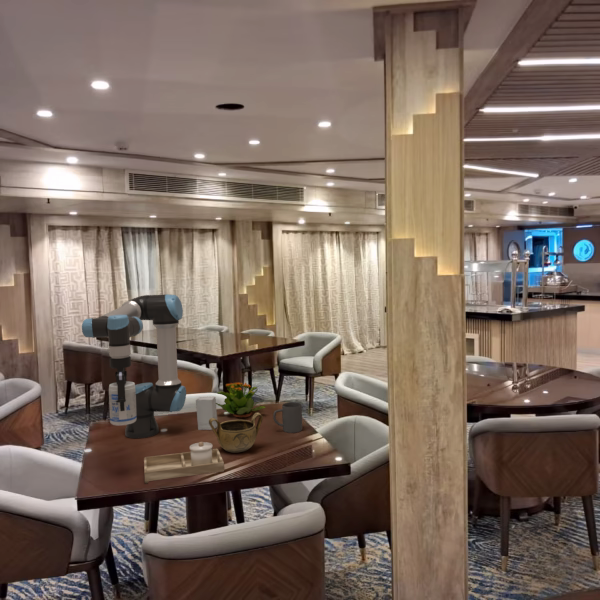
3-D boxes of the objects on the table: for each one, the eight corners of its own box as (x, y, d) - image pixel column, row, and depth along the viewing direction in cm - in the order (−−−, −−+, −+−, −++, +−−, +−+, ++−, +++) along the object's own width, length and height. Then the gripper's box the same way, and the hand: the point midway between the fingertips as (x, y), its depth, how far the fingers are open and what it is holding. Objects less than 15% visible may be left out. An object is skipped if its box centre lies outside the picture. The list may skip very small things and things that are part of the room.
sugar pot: (189, 463, 214) (188, 439, 213) (211, 460, 216) (210, 437, 216) (191, 471, 206) (190, 446, 205) (214, 468, 208) (213, 443, 207)
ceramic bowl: (215, 461, 218) (213, 423, 217) (206, 448, 233) (204, 413, 233) (269, 452, 226) (267, 416, 225) (256, 441, 242) (255, 407, 241)
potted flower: (275, 411, 289) (273, 378, 288) (253, 424, 268) (251, 388, 267) (233, 408, 300) (232, 376, 299) (209, 419, 278) (208, 385, 277)
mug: (299, 426, 262) (298, 401, 261) (305, 431, 253) (304, 405, 252) (271, 429, 258) (270, 404, 257) (276, 435, 249) (275, 409, 248)
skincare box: (217, 426, 265) (216, 396, 264) (213, 430, 259) (212, 399, 258) (201, 426, 267) (200, 396, 266) (196, 430, 261) (195, 399, 260)
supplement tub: (111, 427, 201) (109, 388, 200) (109, 421, 210) (106, 383, 208) (138, 423, 205) (136, 384, 204) (135, 417, 213) (133, 379, 212)
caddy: (144, 467, 213) (144, 457, 213) (218, 458, 221) (217, 448, 221) (144, 483, 197) (144, 472, 197) (224, 473, 205) (223, 462, 204)
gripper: (111, 352, 215) (114, 409, 217) (107, 362, 194) (111, 424, 195) (131, 351, 217) (134, 407, 219) (130, 360, 196) (133, 422, 197)
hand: (123, 415), depth 207 cm, fingers closed on supplement tub, 9 cm apart
